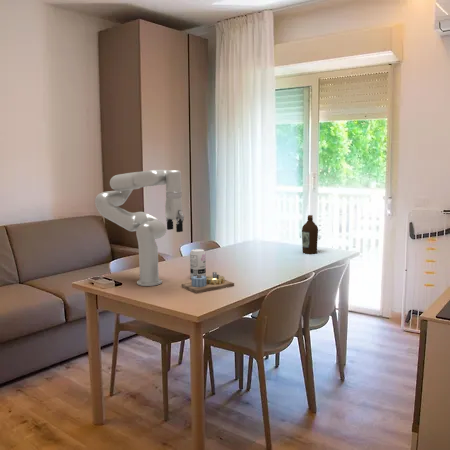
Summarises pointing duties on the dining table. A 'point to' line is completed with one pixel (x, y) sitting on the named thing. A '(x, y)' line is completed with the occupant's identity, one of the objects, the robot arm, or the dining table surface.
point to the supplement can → (197, 262)
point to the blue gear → (199, 281)
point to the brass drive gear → (215, 279)
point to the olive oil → (309, 236)
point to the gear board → (207, 287)
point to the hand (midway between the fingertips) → (174, 230)
